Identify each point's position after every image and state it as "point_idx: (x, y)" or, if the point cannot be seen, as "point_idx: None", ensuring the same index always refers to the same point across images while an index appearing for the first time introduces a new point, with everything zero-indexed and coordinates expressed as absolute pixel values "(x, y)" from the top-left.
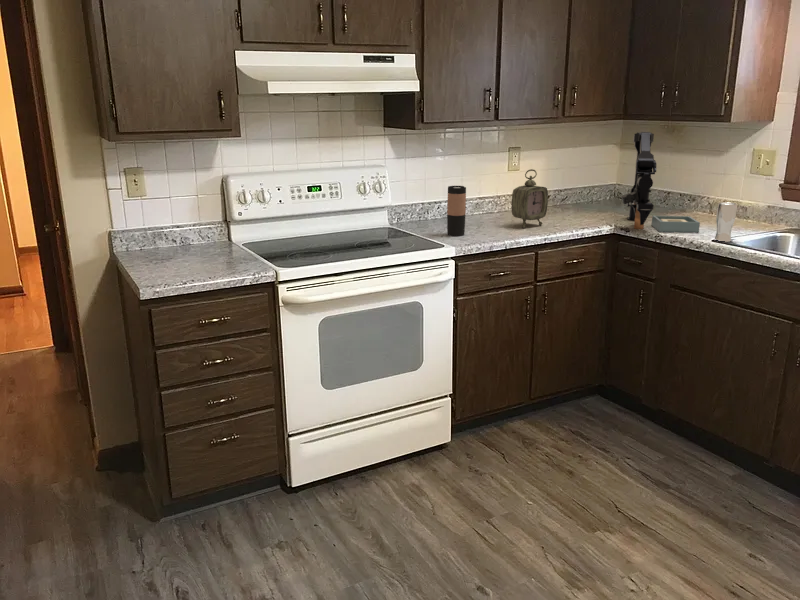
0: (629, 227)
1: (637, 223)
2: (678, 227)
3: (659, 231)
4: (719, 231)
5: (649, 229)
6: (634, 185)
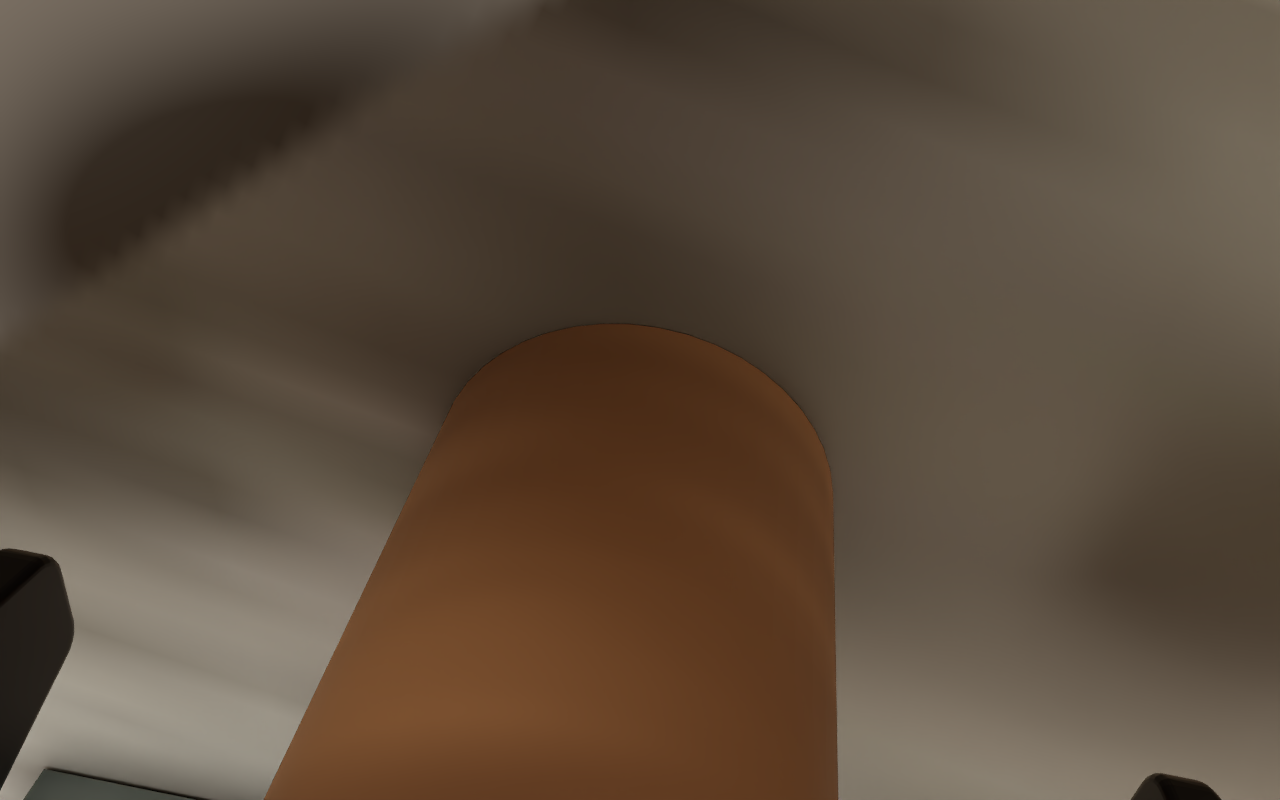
0: (939, 214)
1: (385, 552)
2: None
3: (39, 787)
4: None
5: None
6: None
